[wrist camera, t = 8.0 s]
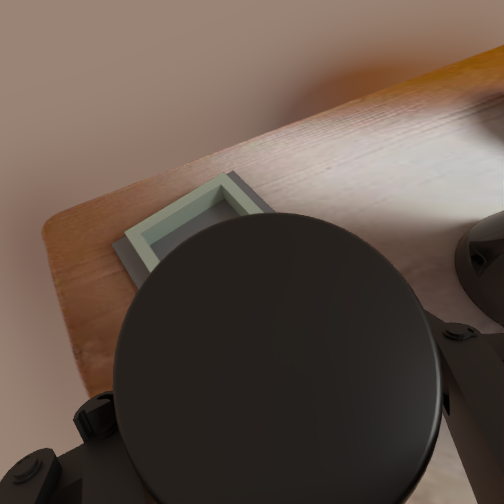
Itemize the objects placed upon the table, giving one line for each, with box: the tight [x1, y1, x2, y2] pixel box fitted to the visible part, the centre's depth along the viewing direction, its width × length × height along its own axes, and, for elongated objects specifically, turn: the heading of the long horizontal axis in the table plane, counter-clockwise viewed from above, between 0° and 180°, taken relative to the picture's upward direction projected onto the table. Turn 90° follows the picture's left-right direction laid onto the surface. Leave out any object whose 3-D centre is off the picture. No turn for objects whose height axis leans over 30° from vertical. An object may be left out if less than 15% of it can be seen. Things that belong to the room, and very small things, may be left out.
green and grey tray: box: [111, 171, 276, 290], centre depth 36 cm, size 20×20×4 cm
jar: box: [113, 212, 443, 504], centre depth 12 cm, size 9×8×12 cm
